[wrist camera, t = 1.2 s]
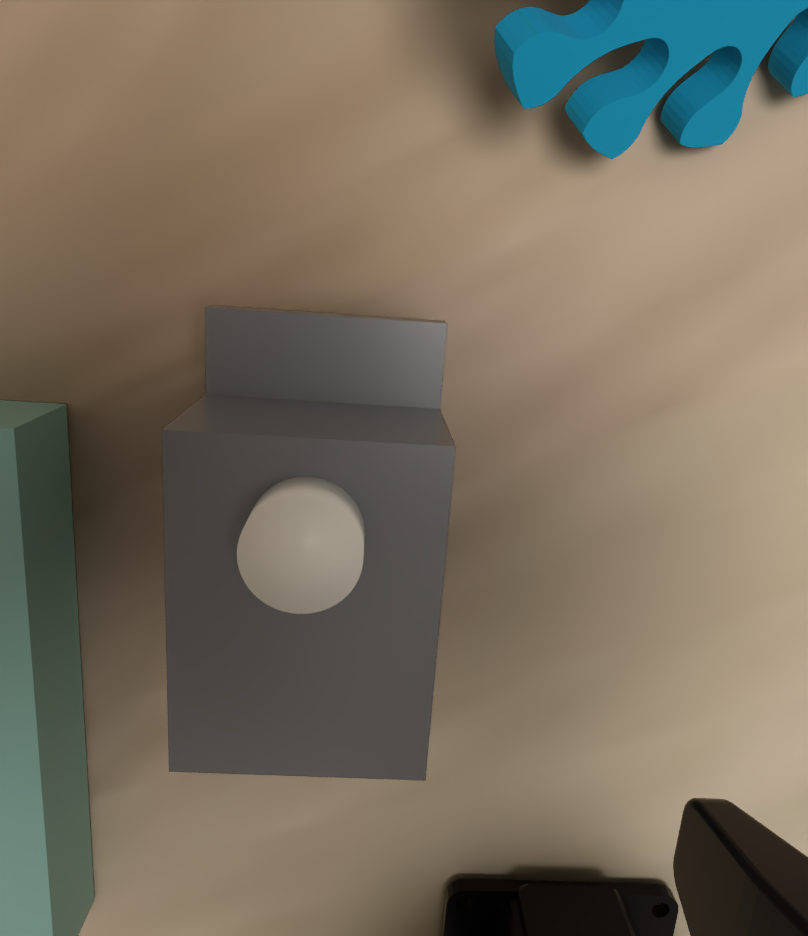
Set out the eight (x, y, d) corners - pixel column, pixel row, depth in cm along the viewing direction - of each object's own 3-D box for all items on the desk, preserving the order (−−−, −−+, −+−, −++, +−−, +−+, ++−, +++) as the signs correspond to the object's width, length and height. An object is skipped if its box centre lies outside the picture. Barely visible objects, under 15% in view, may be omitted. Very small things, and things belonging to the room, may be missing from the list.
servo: (406, 674, 19) (421, 902, 12) (234, 666, 19) (154, 895, 12) (434, 311, 16) (474, 348, 10) (237, 297, 16) (137, 326, 10)
